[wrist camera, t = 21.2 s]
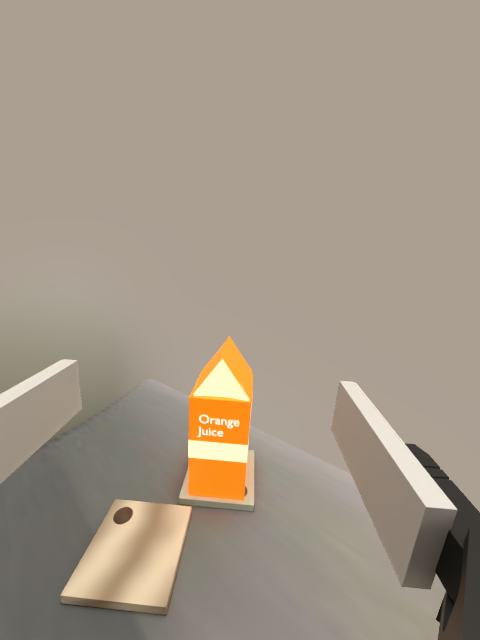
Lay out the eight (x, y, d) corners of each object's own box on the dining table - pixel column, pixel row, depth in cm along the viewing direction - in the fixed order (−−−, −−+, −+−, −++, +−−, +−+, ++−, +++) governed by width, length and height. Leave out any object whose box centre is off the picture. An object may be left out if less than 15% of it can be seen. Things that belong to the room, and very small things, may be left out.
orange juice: (187, 495, 35) (188, 355, 31) (200, 448, 44) (203, 333, 39) (245, 501, 35) (255, 360, 30) (247, 452, 44) (255, 337, 39)
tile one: (61, 603, 25) (60, 595, 25) (116, 505, 34) (115, 498, 34) (166, 615, 24) (166, 607, 24) (191, 512, 34) (191, 506, 34)
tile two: (178, 504, 35) (178, 497, 35) (195, 450, 45) (195, 445, 45) (253, 511, 35) (254, 505, 34) (253, 455, 44) (254, 450, 44)
